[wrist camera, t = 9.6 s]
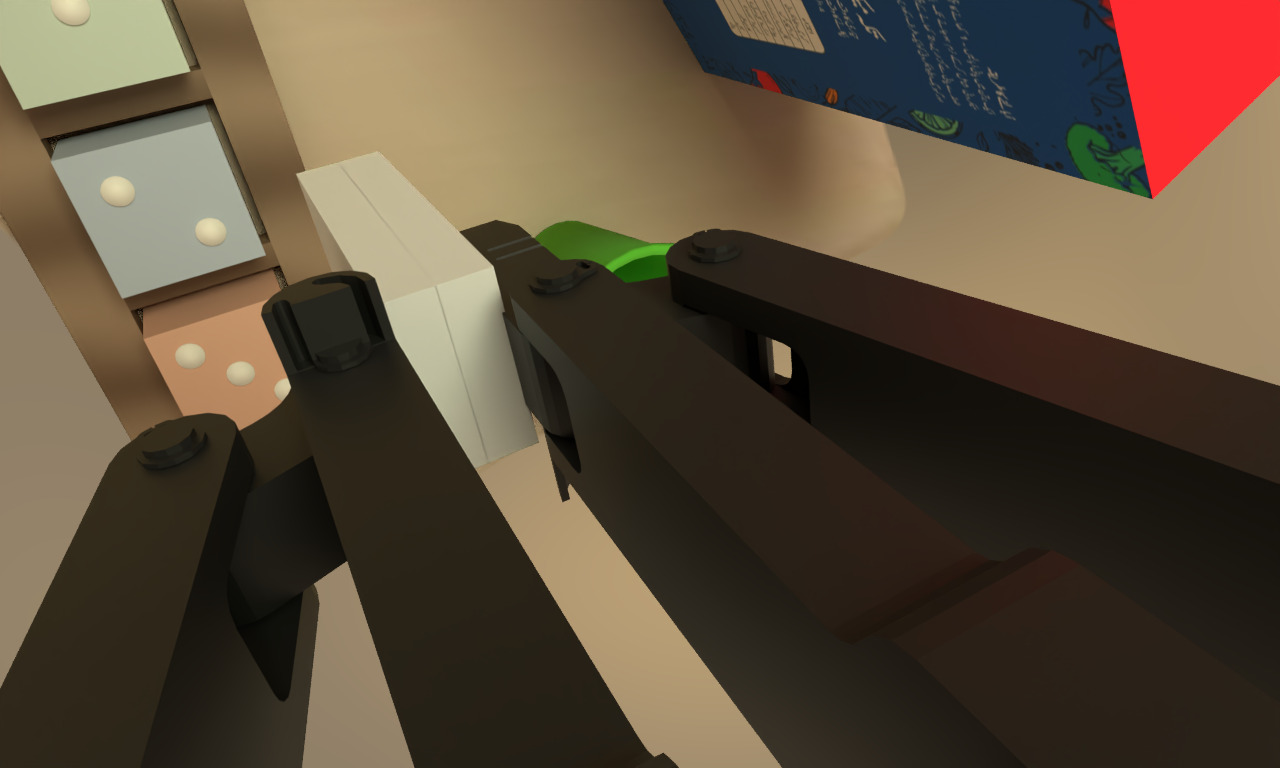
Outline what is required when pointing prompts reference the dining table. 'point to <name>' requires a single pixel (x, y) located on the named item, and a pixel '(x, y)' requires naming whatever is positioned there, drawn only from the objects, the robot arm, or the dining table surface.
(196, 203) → the grey block
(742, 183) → the dining table surface
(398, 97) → the dining table surface
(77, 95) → the pale green block
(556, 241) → the cup
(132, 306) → the board
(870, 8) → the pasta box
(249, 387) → the peach block
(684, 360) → the robot arm
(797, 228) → the dining table surface
